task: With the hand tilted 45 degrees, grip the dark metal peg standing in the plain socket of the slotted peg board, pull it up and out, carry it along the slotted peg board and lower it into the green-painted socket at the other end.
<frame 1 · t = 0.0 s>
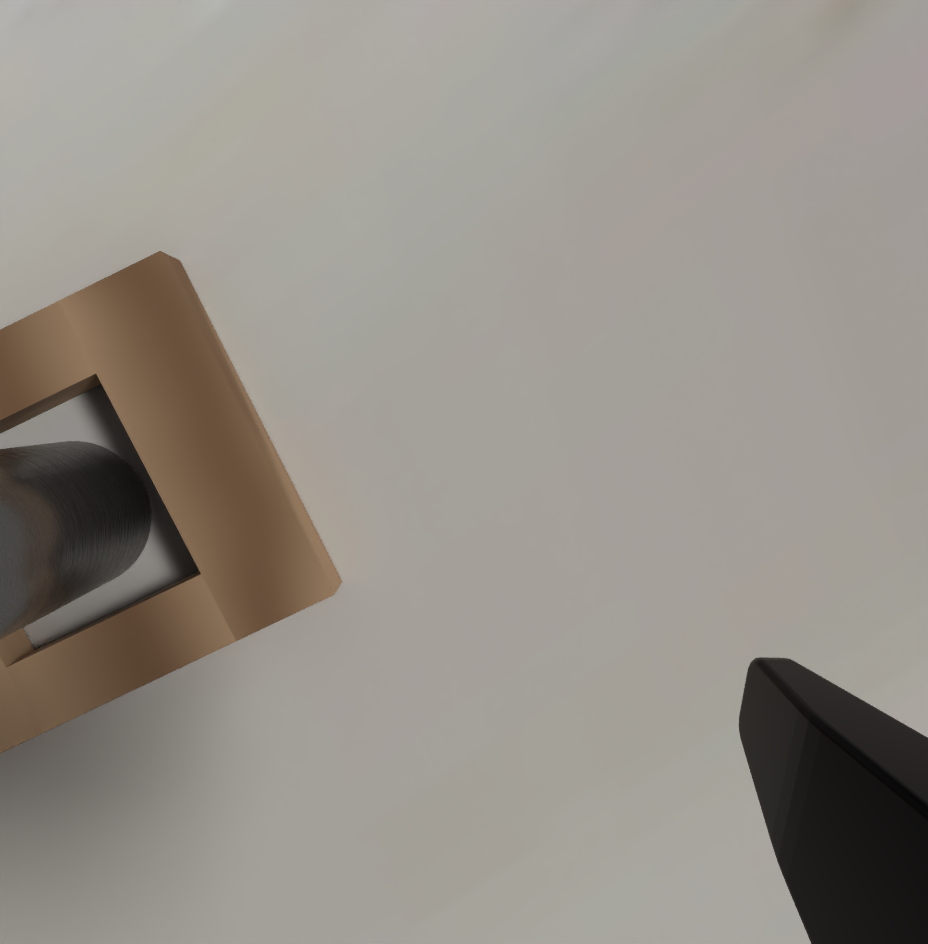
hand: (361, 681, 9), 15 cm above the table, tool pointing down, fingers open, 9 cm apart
metal peg: (77, 514, 24), resting in slotted peg board
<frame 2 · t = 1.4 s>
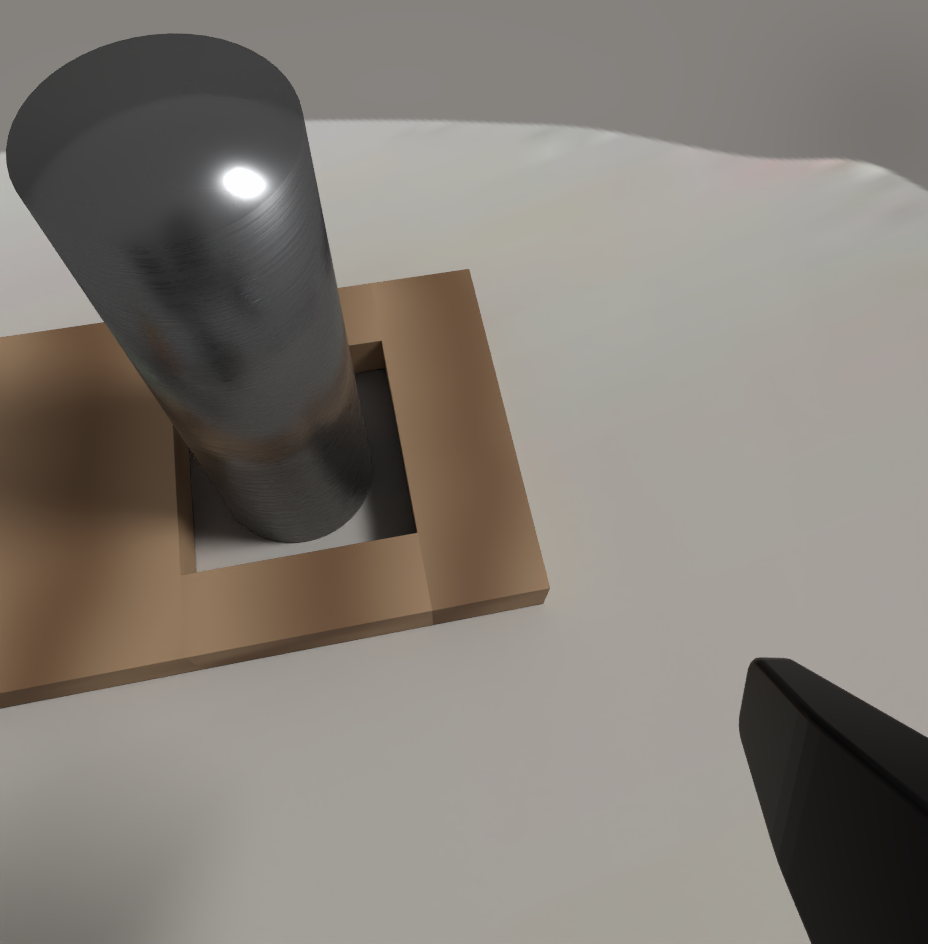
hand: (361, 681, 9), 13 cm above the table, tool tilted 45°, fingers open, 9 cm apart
metal peg: (297, 472, 24), resting in slotted peg board
slotted peg board: (82, 508, 23), on the table
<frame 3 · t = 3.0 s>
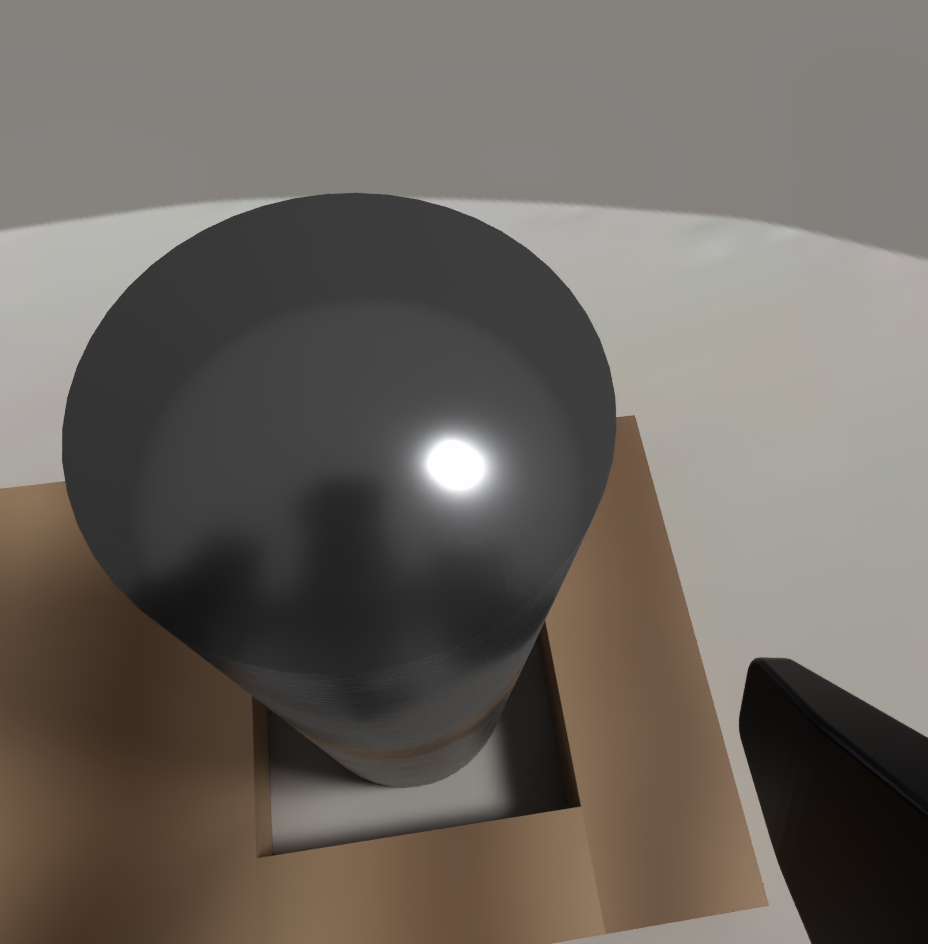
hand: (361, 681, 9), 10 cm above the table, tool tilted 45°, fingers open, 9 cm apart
metal peg: (406, 682, 18), resting in slotted peg board
slotted peg board: (123, 722, 18), on the table
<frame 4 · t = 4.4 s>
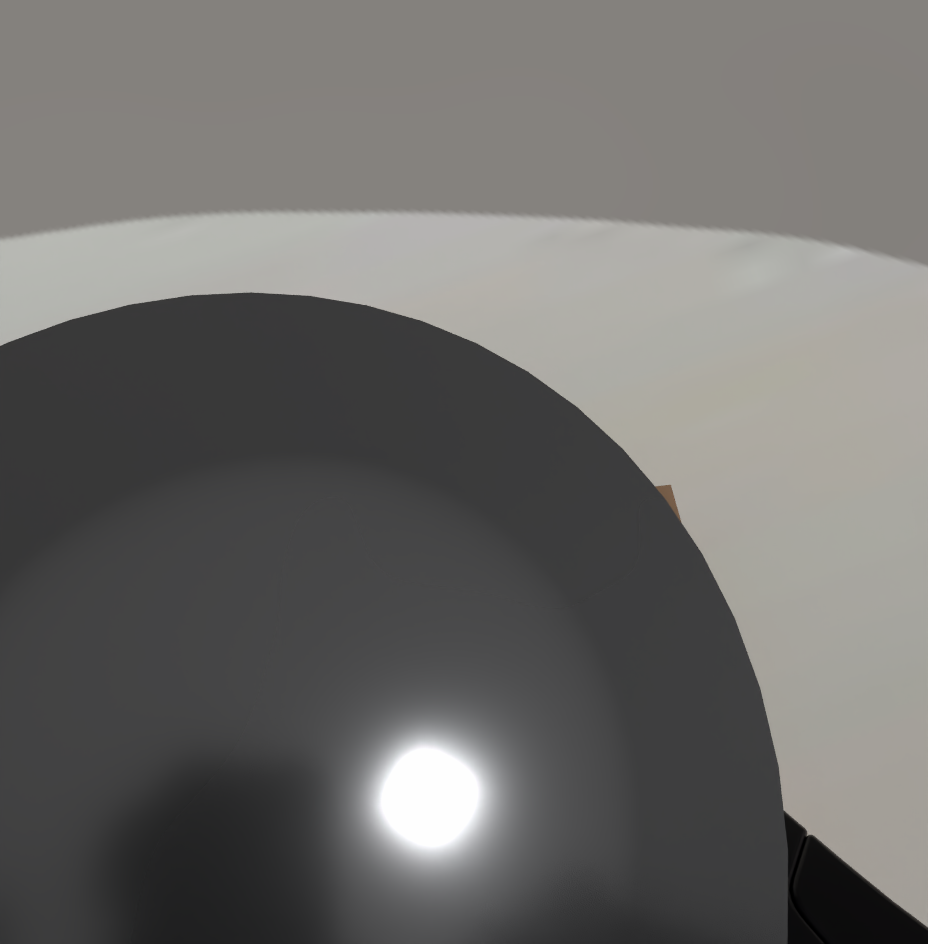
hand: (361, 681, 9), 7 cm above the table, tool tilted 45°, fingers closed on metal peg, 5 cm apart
metal peg: (391, 821, 15), resting in slotted peg board, touching gripper
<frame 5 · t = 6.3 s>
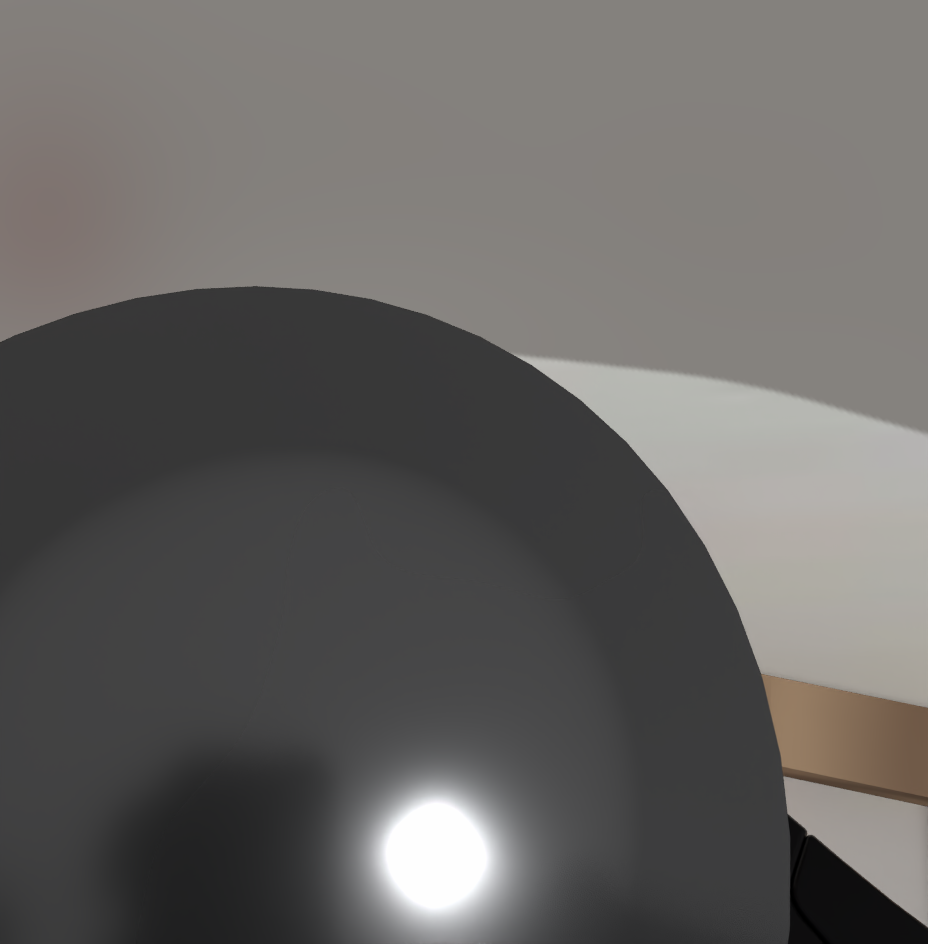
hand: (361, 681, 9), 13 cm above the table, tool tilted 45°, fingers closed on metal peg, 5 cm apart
metal peg: (392, 819, 15), point 6 cm above the table, touching gripper
slotted peg board: (615, 872, 20), on the table
when the fingers open (8 cm above the table, at t = 8.0 s): metal peg stays where it is, resting in slotted peg board.
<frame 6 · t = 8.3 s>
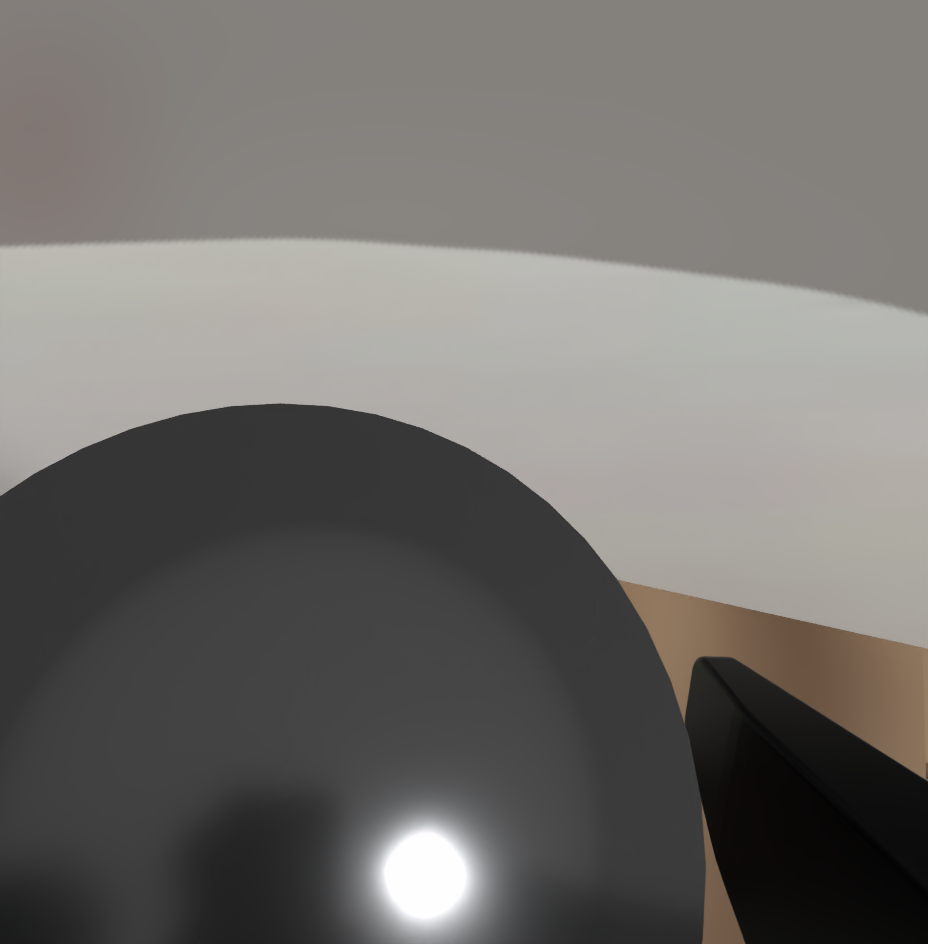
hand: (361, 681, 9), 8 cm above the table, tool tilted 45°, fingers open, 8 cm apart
metal peg: (393, 824, 16), resting in slotted peg board
slotted peg board: (715, 902, 15), on the table
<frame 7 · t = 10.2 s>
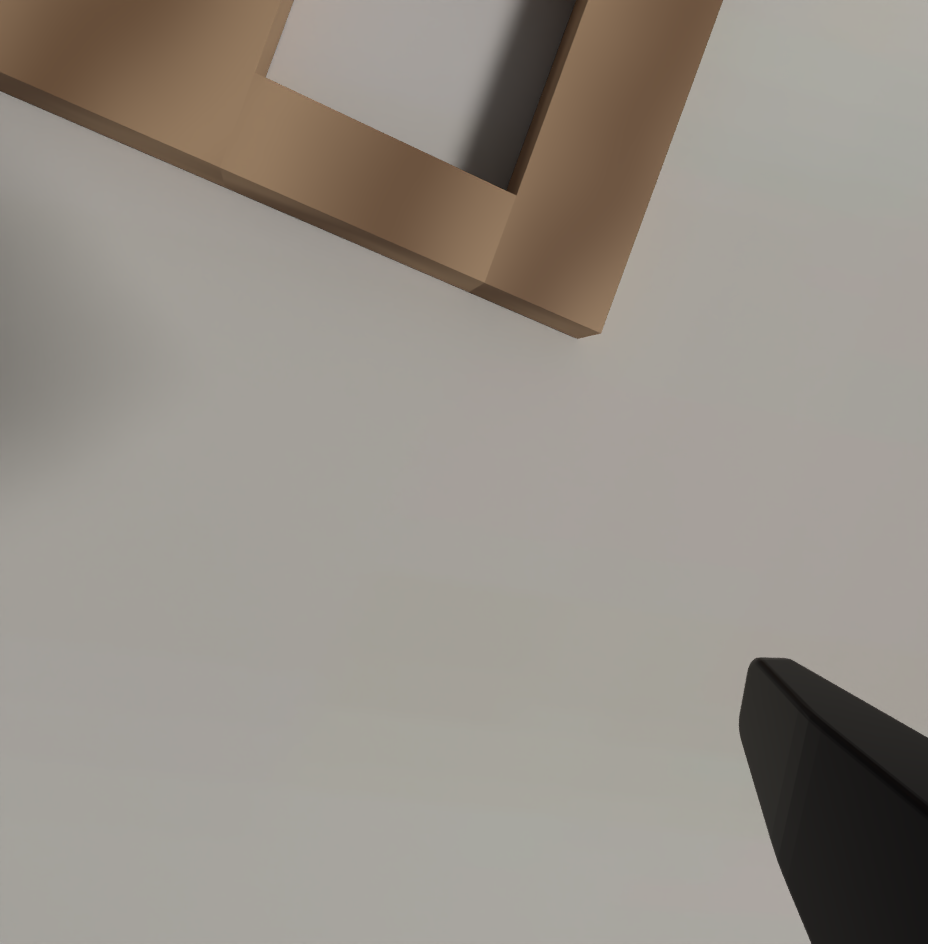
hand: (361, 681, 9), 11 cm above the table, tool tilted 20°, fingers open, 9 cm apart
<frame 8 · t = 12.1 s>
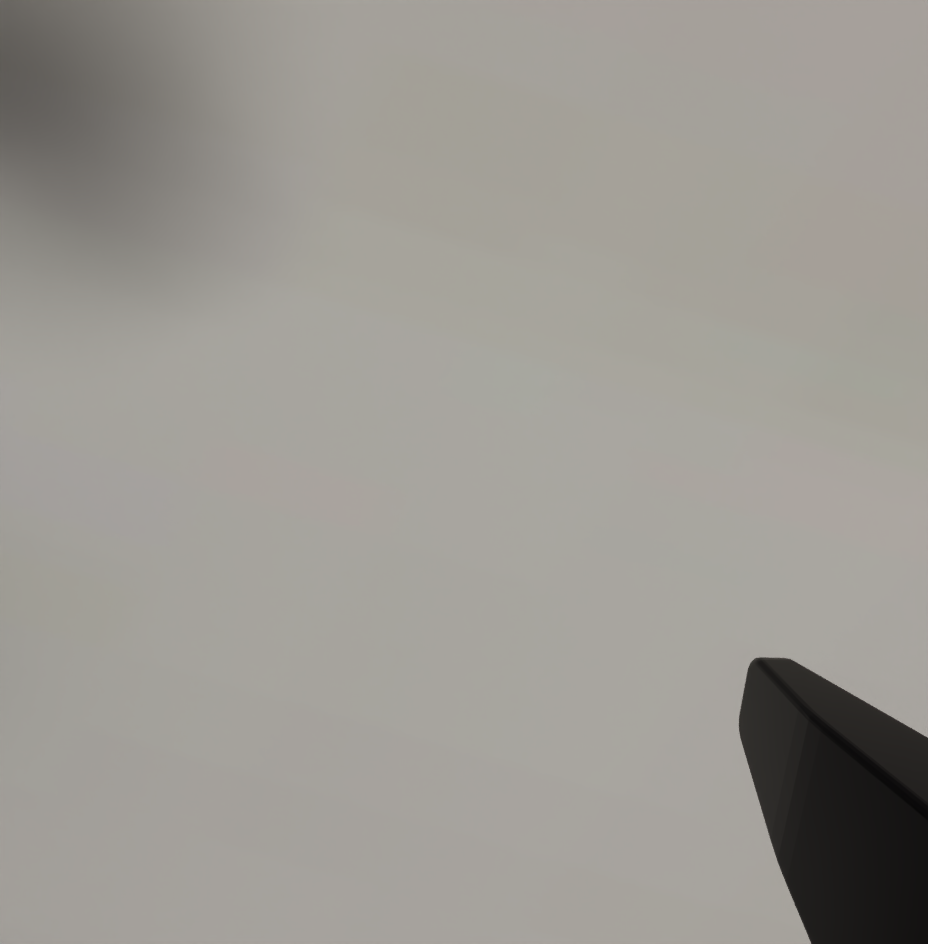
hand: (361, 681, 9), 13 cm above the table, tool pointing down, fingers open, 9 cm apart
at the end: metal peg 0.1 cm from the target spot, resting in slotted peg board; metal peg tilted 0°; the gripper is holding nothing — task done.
